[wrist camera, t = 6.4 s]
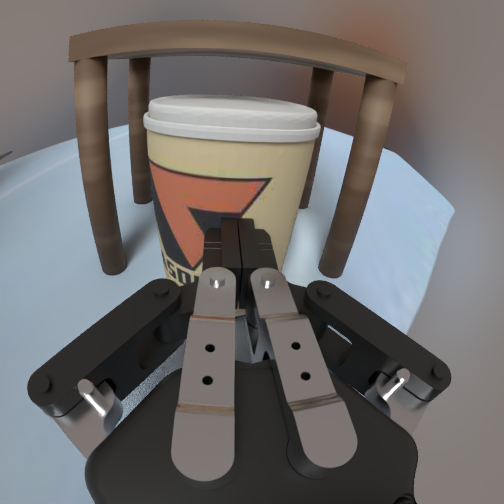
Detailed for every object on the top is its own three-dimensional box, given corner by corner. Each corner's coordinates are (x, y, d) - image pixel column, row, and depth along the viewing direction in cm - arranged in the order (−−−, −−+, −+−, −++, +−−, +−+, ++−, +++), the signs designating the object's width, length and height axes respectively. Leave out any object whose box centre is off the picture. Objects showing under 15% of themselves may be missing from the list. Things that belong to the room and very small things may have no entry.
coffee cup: (130, 281, 19) (109, 104, 12) (213, 229, 26) (221, 92, 19) (236, 354, 15) (262, 119, 8) (308, 272, 22) (344, 113, 15)
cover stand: (345, 277, 22) (407, 62, 12) (99, 274, 19) (69, 36, 9) (305, 200, 32) (331, 56, 22) (136, 195, 29) (133, 44, 19)
